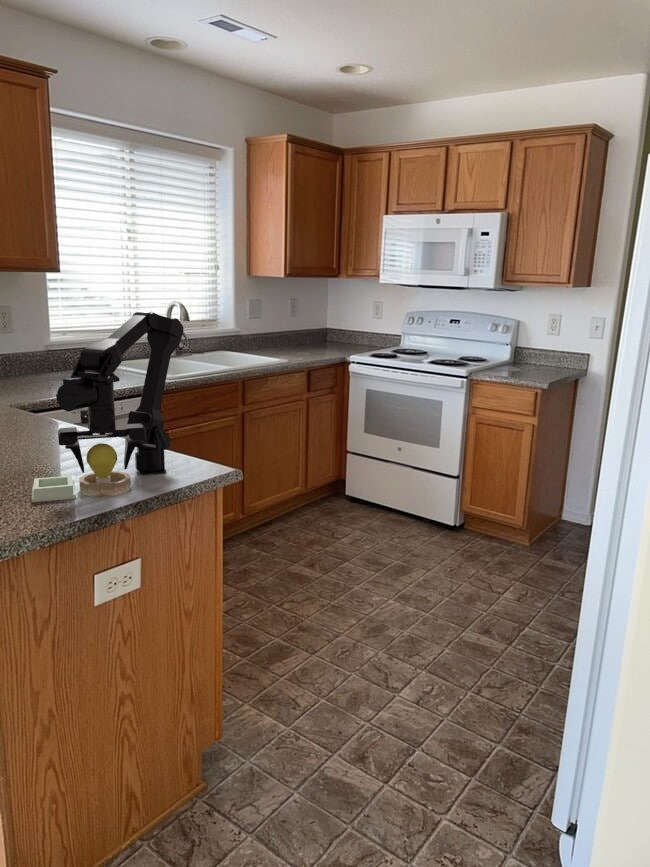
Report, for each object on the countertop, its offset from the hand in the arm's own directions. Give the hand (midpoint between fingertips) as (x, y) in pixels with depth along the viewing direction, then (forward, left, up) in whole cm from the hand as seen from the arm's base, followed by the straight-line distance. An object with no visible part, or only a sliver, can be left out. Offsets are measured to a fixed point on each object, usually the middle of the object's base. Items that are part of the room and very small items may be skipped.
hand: (104, 470), depth 153 cm
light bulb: (0, 0, -4) cm, 4 cm away
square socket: (+11, 0, -4) cm, 12 cm away
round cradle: (0, 0, -4) cm, 4 cm away
